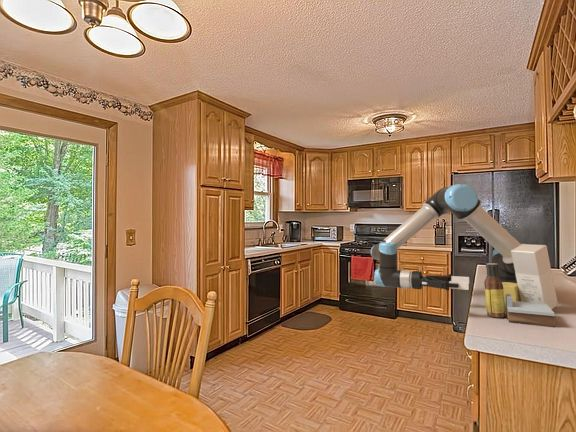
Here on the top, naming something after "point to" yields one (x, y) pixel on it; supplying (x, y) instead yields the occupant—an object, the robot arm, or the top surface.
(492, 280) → the sauce bottle
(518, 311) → the lid
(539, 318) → the brown flat block
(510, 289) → the cheese
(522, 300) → the tall white carton
